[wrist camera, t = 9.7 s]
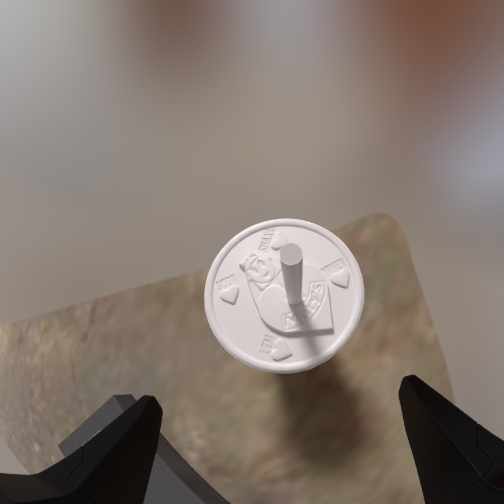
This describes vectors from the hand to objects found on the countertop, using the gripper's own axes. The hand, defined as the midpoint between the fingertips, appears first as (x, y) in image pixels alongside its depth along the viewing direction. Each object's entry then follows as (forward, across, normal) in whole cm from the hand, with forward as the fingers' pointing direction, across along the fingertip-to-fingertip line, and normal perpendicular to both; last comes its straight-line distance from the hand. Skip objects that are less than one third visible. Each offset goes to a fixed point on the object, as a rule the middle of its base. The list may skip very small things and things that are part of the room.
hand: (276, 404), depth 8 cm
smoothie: (+10, 0, +4) cm, 11 cm away
